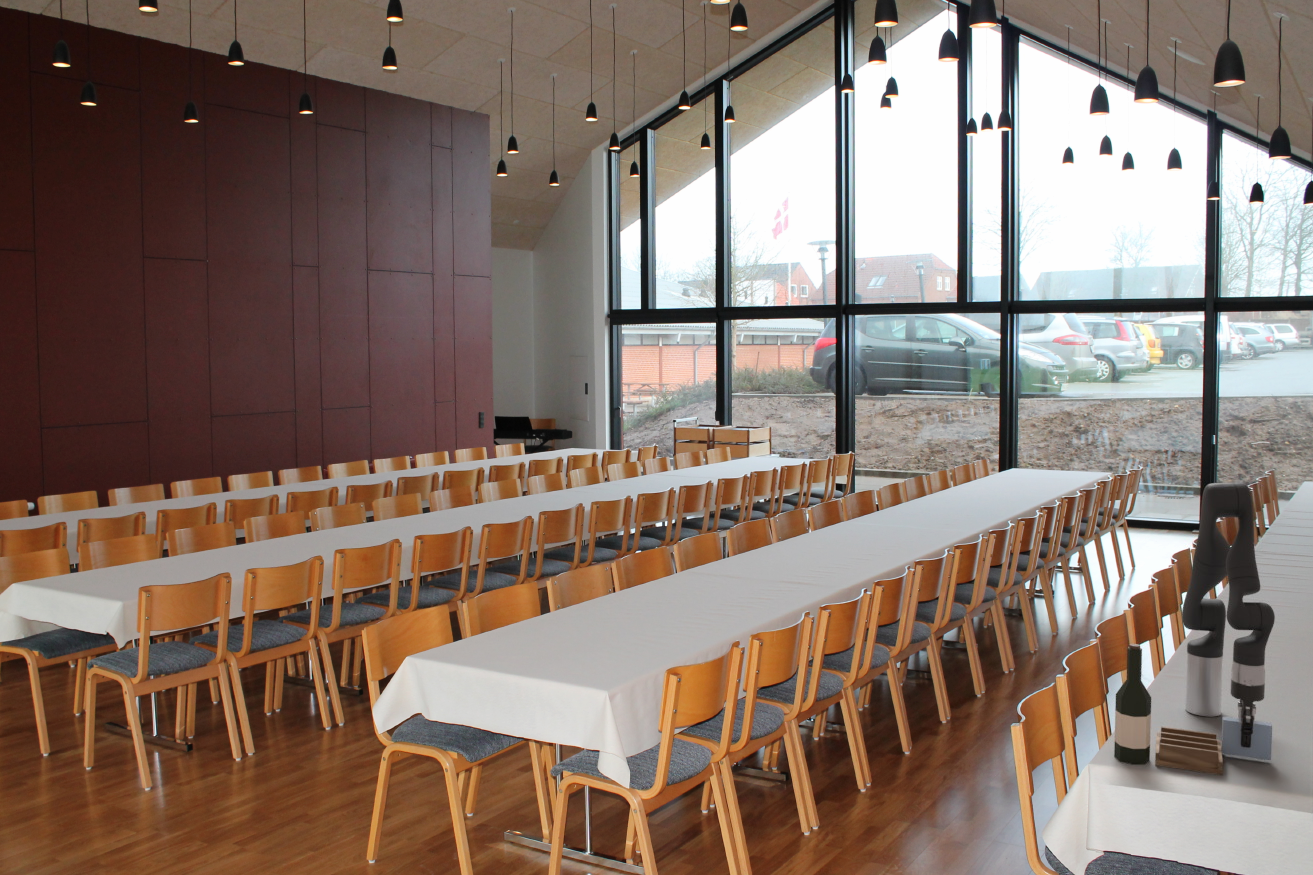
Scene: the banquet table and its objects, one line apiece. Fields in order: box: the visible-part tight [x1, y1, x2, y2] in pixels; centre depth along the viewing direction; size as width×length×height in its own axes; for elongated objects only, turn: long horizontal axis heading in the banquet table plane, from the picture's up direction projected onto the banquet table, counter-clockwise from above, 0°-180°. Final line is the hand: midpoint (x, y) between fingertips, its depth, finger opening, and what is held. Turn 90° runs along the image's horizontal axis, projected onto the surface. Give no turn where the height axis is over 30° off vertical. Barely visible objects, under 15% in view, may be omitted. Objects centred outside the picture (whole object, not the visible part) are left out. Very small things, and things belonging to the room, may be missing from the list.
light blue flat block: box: [1221, 716, 1273, 761], centre depth 269 cm, size 2×11×9 cm, turn 64°
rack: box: [1154, 726, 1223, 776], centre depth 270 cm, size 16×15×5 cm
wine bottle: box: [1113, 643, 1152, 766], centre depth 270 cm, size 8×8×30 cm
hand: (1245, 744), depth 269 cm, fingers closed on light blue flat block, 2 cm apart
